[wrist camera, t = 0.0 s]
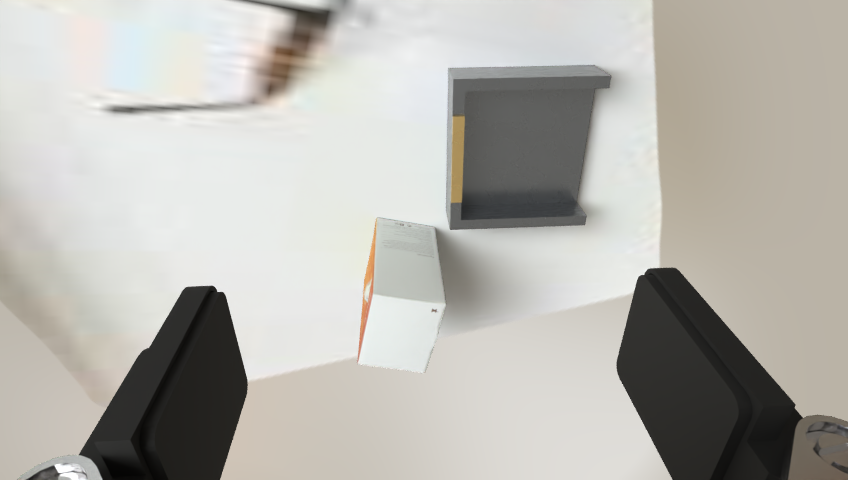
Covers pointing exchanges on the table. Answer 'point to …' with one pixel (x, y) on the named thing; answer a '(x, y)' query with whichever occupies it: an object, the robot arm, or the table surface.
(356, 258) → the table surface
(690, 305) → the robot arm
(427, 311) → the small box
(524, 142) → the cradle
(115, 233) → the table surface
